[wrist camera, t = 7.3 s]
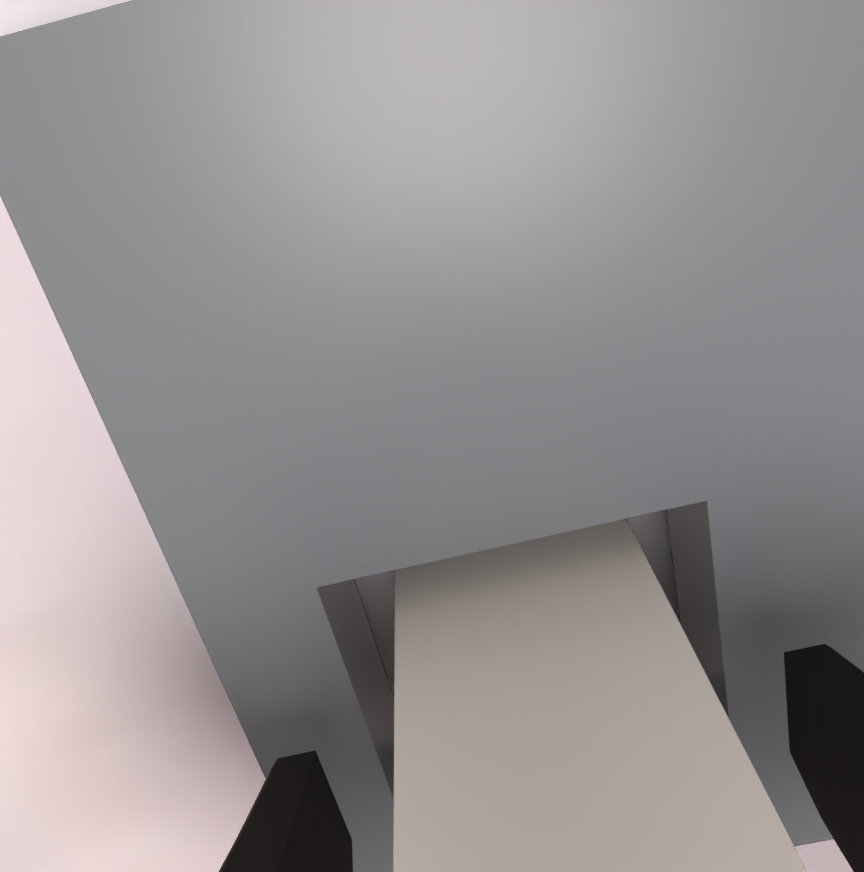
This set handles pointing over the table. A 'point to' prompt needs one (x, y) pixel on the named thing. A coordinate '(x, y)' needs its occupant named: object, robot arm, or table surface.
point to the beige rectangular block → (564, 721)
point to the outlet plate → (462, 319)
